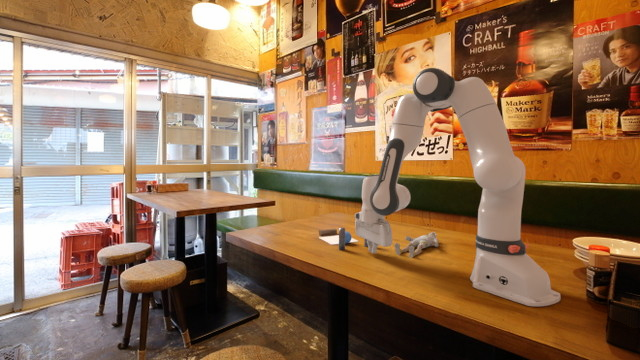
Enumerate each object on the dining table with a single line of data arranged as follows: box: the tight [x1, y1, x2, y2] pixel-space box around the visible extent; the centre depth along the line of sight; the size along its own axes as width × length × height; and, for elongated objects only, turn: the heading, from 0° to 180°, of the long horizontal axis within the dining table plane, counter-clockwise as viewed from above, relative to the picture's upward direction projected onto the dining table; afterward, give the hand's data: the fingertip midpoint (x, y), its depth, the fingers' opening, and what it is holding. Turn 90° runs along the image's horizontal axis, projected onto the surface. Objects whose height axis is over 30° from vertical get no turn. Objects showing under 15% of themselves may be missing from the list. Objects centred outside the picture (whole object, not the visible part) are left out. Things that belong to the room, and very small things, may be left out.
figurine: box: [394, 231, 440, 259], centre depth 130 cm, size 13×6×30 cm
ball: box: [345, 230, 352, 245], centre depth 137 cm, size 6×6×6 cm
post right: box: [363, 239, 369, 248], centre depth 133 cm, size 3×3×9 cm
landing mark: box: [318, 234, 360, 246], centre depth 144 cm, size 14×14×1 cm
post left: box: [338, 227, 346, 251], centre depth 127 cm, size 3×3×9 cm
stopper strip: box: [318, 228, 338, 237], centre depth 154 cm, size 2×9×2 cm, turn 115°
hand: (372, 252), depth 118 cm, fingers closed
